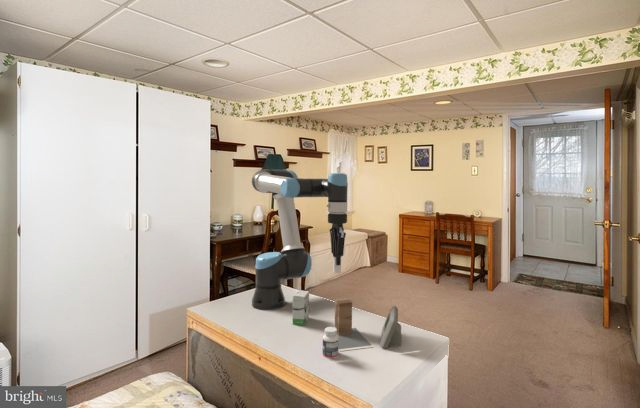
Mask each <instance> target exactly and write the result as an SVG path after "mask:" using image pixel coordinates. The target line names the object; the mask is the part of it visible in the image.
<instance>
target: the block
mask: <svg viewBox="0 0 640 408" xmlns="http://www.w3.org/2000/svg"><path fill="white" fill-rule="evenodd" d="M352 324H353V301H351V300H350V299H349V298H348V297H343V298H335V299H334V328H336V329H337V334H338V335H348V334H352V328H353V325H352Z"/></svg>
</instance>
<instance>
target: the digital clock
mask: <svg viewBox="0 0 640 408" xmlns="http://www.w3.org/2000/svg"><path fill="white" fill-rule="evenodd" d="M390 307H391V308H390V309H389V312H388V314H387V317H386V320H385V321H384V324H383V326H382V329H381V336H380V344H379V345H380V347H381V349H383V350H386V349H388V347H389V346H395V347H402V326H401V324H400V323H399V308H398V307H397V306H396V305H392V306H390Z"/></svg>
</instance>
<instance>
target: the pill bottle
mask: <svg viewBox="0 0 640 408" xmlns="http://www.w3.org/2000/svg"><path fill="white" fill-rule="evenodd" d="M338 344H339V337H338V335H337V329H336V328H335V326H327V327H326V328H324V334H323V336H322V356H323V357H324V358H326V359H336V358H338V357H339V356H340V355H339V352H340V351H339V349H338Z"/></svg>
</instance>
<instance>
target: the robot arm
mask: <svg viewBox="0 0 640 408" xmlns="http://www.w3.org/2000/svg"><path fill="white" fill-rule="evenodd" d="M348 184H349V183H348V175H347V174H346V173H343V172H341V173H339V172H338V173H337V172H334V173H329V174H328V176H327V178H301V177H300V178H299V177H298V175H297V173H296V172H295V171H294V170H291V169H267V168H266V169H260V170H258V171H257V172H255V173H254V174H253V175H252V177H251V185H252V188H253V189H255V191H257V192H259V193H263V194H264V193H265V194H272V198H273V199H274V200H275V201H276V205H277V211H278V212H277V213H278V219H279V225H280V234H281V241H282V249H281V251H273V252H272V251H269V252H265V253H262V254H261V253H260V254H259V255H258V256H257V257H256V258H255V265H254V267H255V288H254V293H253V296H252V298H251V306H252V307H253V308H255V309H258V310H266V311H268V310H270V311H271V310H277V309H280V308H282V307H284V306H285V304H286V298H285V295H284V292H283V289H282V281H284V280H291V279H300V278H303V277H307V276H308V275H309V273H310V272H311V269H312V256H311V255H310V253H309V252H307V251H306V249H305V247H304V246H303V245H302V244H301V237H300V231H299V229H300V228H299V224H298V219H297V211H296V204H295V199H294V198H327V205H326V207H327V211H328V214H327V223H328V224H331V228H330V229H329V235H330V247H331V248H330V253H331V254H332V259H333V260H332V261H333V263H332V264H333V266H332V267H333V268H332V272H333V274H341V273H342V257H343V256H344V252H345V241H346V234H347V233H346V232H345V229H344V224H347V223H348V214H347V212H348Z"/></svg>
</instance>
